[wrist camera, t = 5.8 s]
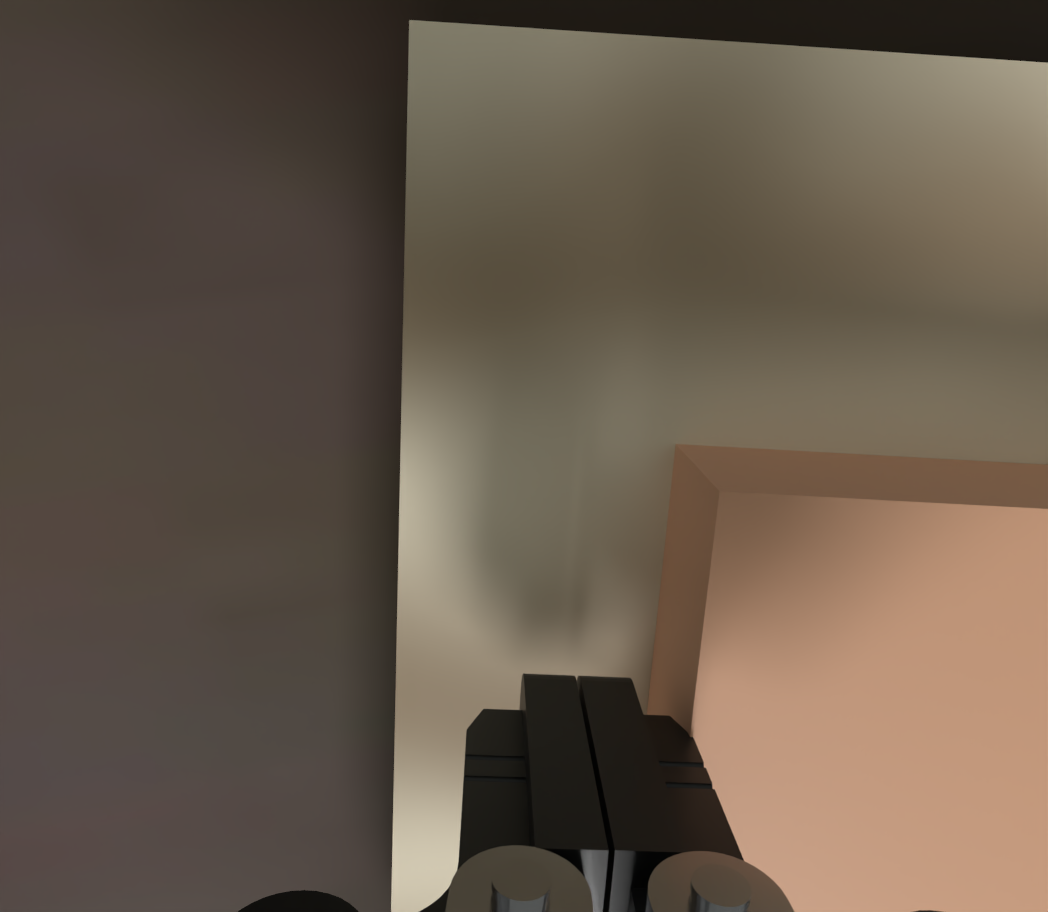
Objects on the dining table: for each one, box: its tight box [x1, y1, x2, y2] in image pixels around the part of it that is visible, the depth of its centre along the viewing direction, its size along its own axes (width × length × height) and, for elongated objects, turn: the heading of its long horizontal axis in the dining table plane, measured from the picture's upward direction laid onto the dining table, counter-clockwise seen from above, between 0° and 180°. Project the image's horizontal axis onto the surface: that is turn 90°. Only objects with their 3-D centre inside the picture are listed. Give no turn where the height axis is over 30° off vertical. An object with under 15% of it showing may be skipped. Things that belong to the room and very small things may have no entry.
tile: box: [647, 444, 1048, 912], centre depth 12 cm, size 7×9×2 cm
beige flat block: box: [391, 20, 1048, 912], centre depth 15 cm, size 18×14×4 cm
